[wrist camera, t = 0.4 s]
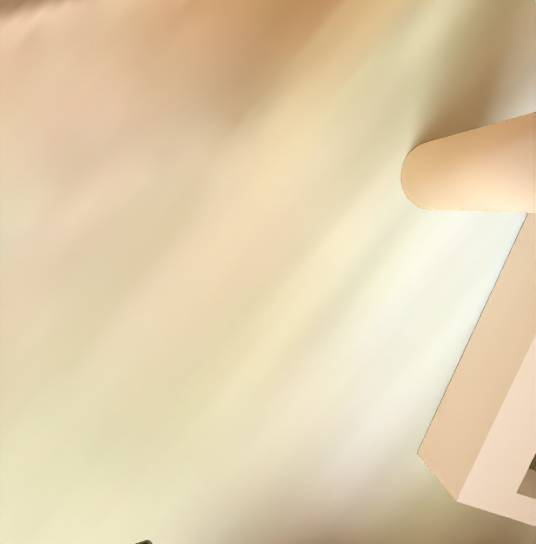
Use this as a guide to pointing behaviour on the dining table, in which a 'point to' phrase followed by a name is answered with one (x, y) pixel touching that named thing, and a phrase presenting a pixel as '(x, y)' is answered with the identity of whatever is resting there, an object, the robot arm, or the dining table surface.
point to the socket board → (494, 399)
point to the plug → (476, 169)
